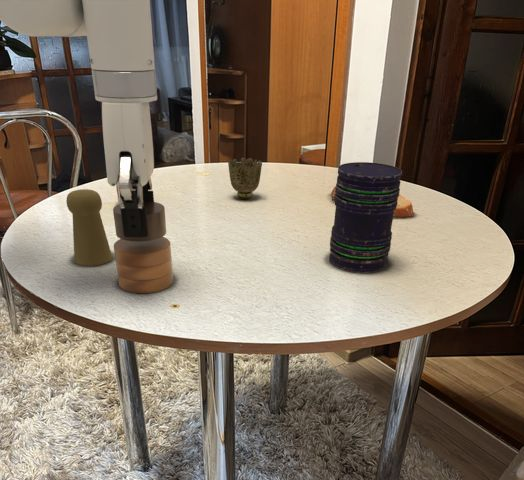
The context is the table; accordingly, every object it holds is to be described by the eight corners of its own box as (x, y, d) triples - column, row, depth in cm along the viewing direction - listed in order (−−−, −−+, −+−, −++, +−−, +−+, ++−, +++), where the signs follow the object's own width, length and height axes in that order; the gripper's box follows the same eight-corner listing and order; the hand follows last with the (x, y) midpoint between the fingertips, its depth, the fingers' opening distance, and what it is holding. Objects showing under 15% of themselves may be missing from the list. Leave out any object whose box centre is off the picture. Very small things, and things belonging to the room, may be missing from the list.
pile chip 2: (112, 280, 72) (110, 267, 71) (122, 258, 79) (120, 246, 78) (169, 280, 73) (168, 267, 72) (174, 259, 79) (173, 246, 78)
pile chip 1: (110, 267, 71) (108, 253, 70) (120, 246, 78) (119, 233, 77) (168, 267, 72) (167, 254, 71) (173, 246, 78) (172, 234, 77)
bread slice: (414, 219, 105) (418, 201, 103) (327, 213, 108) (329, 195, 106) (408, 196, 120) (411, 180, 118) (332, 190, 123) (333, 174, 121)
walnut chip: (111, 241, 70) (108, 215, 68) (121, 224, 76) (118, 200, 74) (163, 241, 70) (161, 216, 68) (168, 225, 76) (166, 200, 74)
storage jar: (400, 266, 84) (417, 173, 76) (354, 277, 80) (367, 180, 72) (360, 246, 91) (371, 159, 83) (316, 256, 87) (324, 165, 79)
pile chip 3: (114, 293, 73) (112, 280, 72) (124, 270, 80) (122, 258, 79) (170, 293, 74) (169, 280, 73) (175, 271, 80) (174, 259, 79)
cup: (235, 204, 112) (235, 166, 107) (223, 195, 117) (223, 158, 113) (266, 200, 114) (267, 163, 110) (253, 192, 120) (254, 156, 116)
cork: (113, 251, 87) (104, 185, 81) (111, 265, 82) (101, 195, 76) (76, 252, 86) (64, 186, 80) (71, 266, 81) (58, 197, 75)
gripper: (108, 79, 70) (124, 208, 79) (76, 93, 55) (100, 249, 65) (163, 81, 70) (172, 208, 80) (146, 95, 56) (160, 249, 65)
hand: (140, 226), depth 72 cm, fingers closed on walnut chip, 7 cm apart
